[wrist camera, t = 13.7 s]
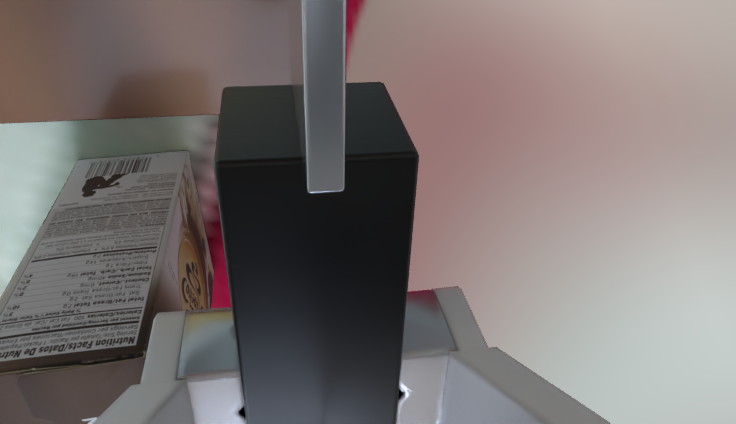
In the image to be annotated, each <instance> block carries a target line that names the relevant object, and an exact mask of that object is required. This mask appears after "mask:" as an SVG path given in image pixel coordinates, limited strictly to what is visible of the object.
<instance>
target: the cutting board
mask: <svg viewBox="0 0 736 424" xmlns="http://www.w3.org/2000/svg"><path fill="white" fill-rule="evenodd" d="M267 85H292V84H291V68H290V45H289V22H288V0H0V123H24V122H48V121H72V120H96V119H120V118H143V117H167V116H191V115H215V114H220V105H221V97H222V91H223V88H225V87H234V86H267Z"/></svg>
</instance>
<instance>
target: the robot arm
mask: <svg viewBox="0 0 736 424" xmlns="http://www.w3.org/2000/svg"><path fill="white" fill-rule="evenodd" d="M92 424H246V417H245V409H244V401H243V394H242V386H241V378H240V370H239V362H238V354H237V347H236V339H235V331H234V323H233V315H232V307H228V308H213V309H198V310H188V311H176V312H161V313H157V315H156V316H155V318H154V320H153V325H152V330H151V335H150V340H149V344H148V349H147V354H146V359H145V364H144V369H143V373H142V378H141V383H140V384H138V385H131V386H130V387H129V388H128V389H127V390H126V391H125V392H124V393H123V394H122V395H121V396H120V397H119V398H118V399H117V400H116V401H115V402H114V403H113V404H112V405H111V406H110V407H108V408H107V409H106V410H105V411H104V412H103V413H102V414H101V415H100V416H99V417H98V418H97V419H96V420H95V421H94V422H93V423H92ZM396 424H610V423H609V422H608V421H607V420H605V419H604V418H602V417H601V416H599V415H598V414H596V413H595V412H593V411H592V410H590V409H589V408H587V407H586V406H584V405H583V404H581V403H580V402H578V401H577V400H575V399H574V398H572V397H571V396H569V395H568V394H566V393H565V392H563V391H561V390H560V389H559V388H557V387H556V386H554V385H553V384H551V383H549V382H548V381H547V380H545V379H544V378H542V377H541V376H539V375H537V374H536V373H535V372H533V371H531V370H530V369H529V368H527V367H526V366H524V365H523V364H521V363H520V362H518V361H517V360H515V359H514V358H512V357H510V356H509V355H507V354H506V353H504V352H503V351H501V350H500V349H498V348H497V347H492V348H488V346H487V343H486V341H485V339H484V337H483V335H482V333H481V331H480V328H479V326H478V324H477V322H476V320H475V318H474V316H473V313H472V311H471V309H470V307H469V305H468V303H467V301H466V298H465V296H464V294H463V292H462V290H461V289H460V288H459V287H458V286H455V287H446V288H436V289H432V290H422V291H412V292H407V302H406V313H405V325H404V337H403V348H402V360H401V372H400V383H399V395H398V407H397V418H396Z"/></svg>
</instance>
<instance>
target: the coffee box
mask: <svg viewBox="0 0 736 424" xmlns="http://www.w3.org/2000/svg"><path fill="white" fill-rule="evenodd" d="M213 277H214V271H213V266H212V261H211V256H210V251H209V246H208V242H207V237H206V232H205V228H204V223H203V218H202V213H201V208H200V203H199V199H198V194H197V189H196V184H195V180H194V175H193V170H192V165H191V160H190V156H189V152H188V151H174V152H163V153H151V154H140V155H129V156H117V157H107V158H95V159H84V160H78V161H77V163H76V164H75V166H74V168H73V170H72V172H71V174H70V176H69V177H68V179H67V181H66V183H65V185H64V187H63V188H62V190H61V192H60V194H59V195H58V197H57V199H56V200H55V202H54V204H53V206H52V208H51V210H50V211H49V213H48V215H47V217H46V219H45V220H44V222H43V224H42V226H41V227H40V229H39V231H38V233H37V234H36V236H35V238H34V240H33V241H32V243H31V245H30V247H29V248H28V250H27V252H26V254H25V256H24V257H23V259H22V261H21V263H20V264H19V266H18V268H17V270H16V271H15V273H14V275H13V277H12V278H11V280H10V282H9V284H8V285H7V287H6V289H5V291H4V293H3V294H2V296H1V298H0V424H92V423H93V422H94V421H95V420H96V419H97V418H98V417H99V416H100V415H101V414H102V413H103V412H104V411H105V410H106V409H107V408H108V407H110V406H111V405H112V404H113V403H114V402H115V401H116V400H117V399H118V398H119V397H120V396H121V395H122V394H123V393H124V392H125V391H126V390H127V389H128V388H129V387H130V386H131V385H138V384H140V383H141V378H142V373H143V369H144V364H145V359H146V354H147V349H148V344H149V340H150V335H151V330H152V325H153V320H154V318H155V316H156V315H157V313H161V312H176V311H188V310H198V309H211V303H212V290H213Z"/></svg>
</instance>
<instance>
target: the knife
mask: <svg viewBox="0 0 736 424" xmlns="http://www.w3.org/2000/svg"><path fill="white" fill-rule="evenodd" d="M288 22H289V45H290V68H291V84H292V85H267V86H234V87H225V88H223V91H222V97H221V105H220V114H219V123H218V132H217V140H216V149H215V158H214V174H215V182H216V190H217V198H218V206H219V213H220V221H221V229H222V237H223V245H224V253H225V260H226V268H227V276H228V284H229V292H230V300H231V307H232V315H233V323H234V331H235V339H236V347H237V354H238V362H239V370H240V378H241V386H242V394H243V401H244V409H245V417H246V424H396V418H397V407H398V395H399V383H400V372H401V360H402V348H403V337H404V325H405V313H406V302H407V289H408V278H409V265H410V255H411V243H412V232H413V220H414V208H415V197H416V184H417V173H418V162H419V155H418V152H417V150H416V148H415V146H414V144H413V142H412V140H411V138H410V136H409V135H408V132H407V130H406V128H405V126H404V124H403V122H402V120H401V118H400V116H399V114H398V112H397V110H396V108H395V106H394V104H393V102H392V100H391V98H390V96H389V94H388V91H387V89H386V87H385V85H384V84H383V83H381V82H366V83H346V35H347V0H288Z"/></svg>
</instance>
